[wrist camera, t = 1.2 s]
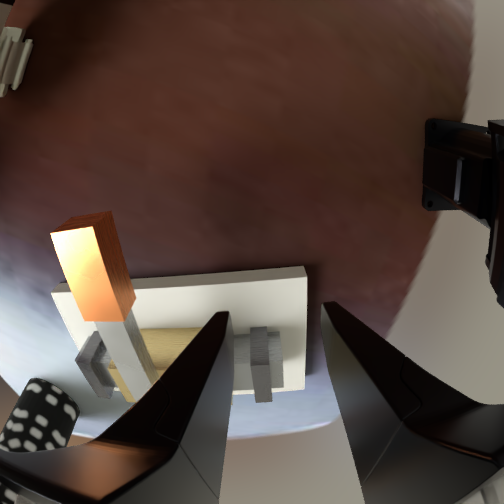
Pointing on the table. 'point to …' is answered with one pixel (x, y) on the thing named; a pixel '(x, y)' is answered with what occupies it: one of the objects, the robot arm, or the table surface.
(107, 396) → the valve pipe run
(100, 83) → the table surface
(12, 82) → the pneumatic valve
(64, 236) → the valve lever
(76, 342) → the base plate
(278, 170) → the table surface
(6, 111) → the table surface
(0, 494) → the spotted tube
